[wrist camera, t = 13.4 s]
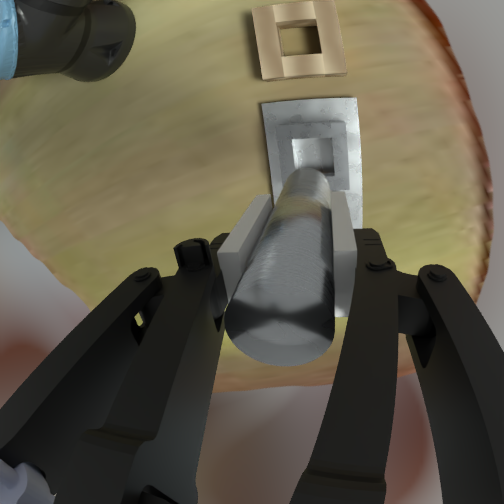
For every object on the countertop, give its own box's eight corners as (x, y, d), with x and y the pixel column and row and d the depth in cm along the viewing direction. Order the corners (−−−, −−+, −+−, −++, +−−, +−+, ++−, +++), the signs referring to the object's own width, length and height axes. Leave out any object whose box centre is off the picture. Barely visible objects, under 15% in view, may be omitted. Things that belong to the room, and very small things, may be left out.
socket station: (281, 253, 45) (276, 271, 40) (263, 103, 35) (254, 103, 30) (360, 252, 42) (364, 270, 37) (355, 98, 32) (360, 96, 27)
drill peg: (286, 211, 21) (234, 362, 9) (282, 169, 20) (213, 283, 8) (330, 210, 20) (332, 367, 8) (328, 166, 19) (336, 284, 7)
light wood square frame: (267, 81, 33) (262, 79, 30) (257, 15, 29) (251, 8, 26) (345, 76, 31) (347, 73, 28) (333, 8, 26) (334, 0, 23)
